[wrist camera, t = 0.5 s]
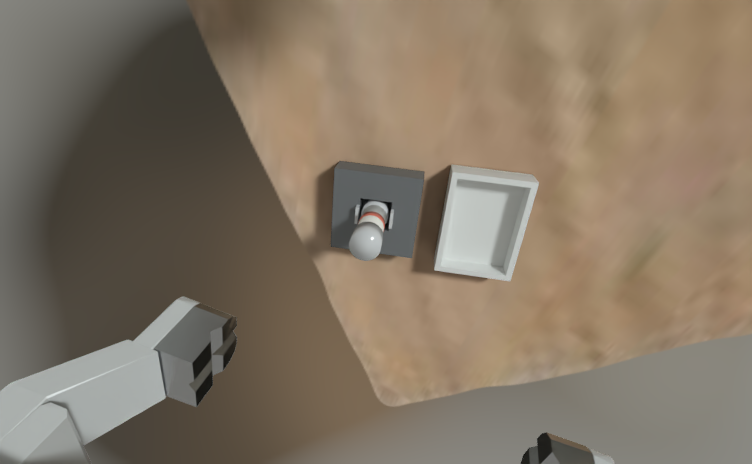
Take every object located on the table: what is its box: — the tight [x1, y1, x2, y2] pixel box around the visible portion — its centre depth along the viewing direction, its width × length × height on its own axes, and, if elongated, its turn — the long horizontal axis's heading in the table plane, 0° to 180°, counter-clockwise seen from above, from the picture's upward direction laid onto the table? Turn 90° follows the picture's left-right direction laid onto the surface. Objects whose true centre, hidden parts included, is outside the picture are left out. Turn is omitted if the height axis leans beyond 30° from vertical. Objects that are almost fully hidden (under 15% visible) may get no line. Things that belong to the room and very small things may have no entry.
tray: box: [434, 165, 539, 281], centre depth 55 cm, size 15×11×4 cm
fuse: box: [349, 199, 390, 261], centre depth 52 cm, size 4×4×12 cm
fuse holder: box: [331, 161, 424, 258], centre depth 56 cm, size 12×12×5 cm
